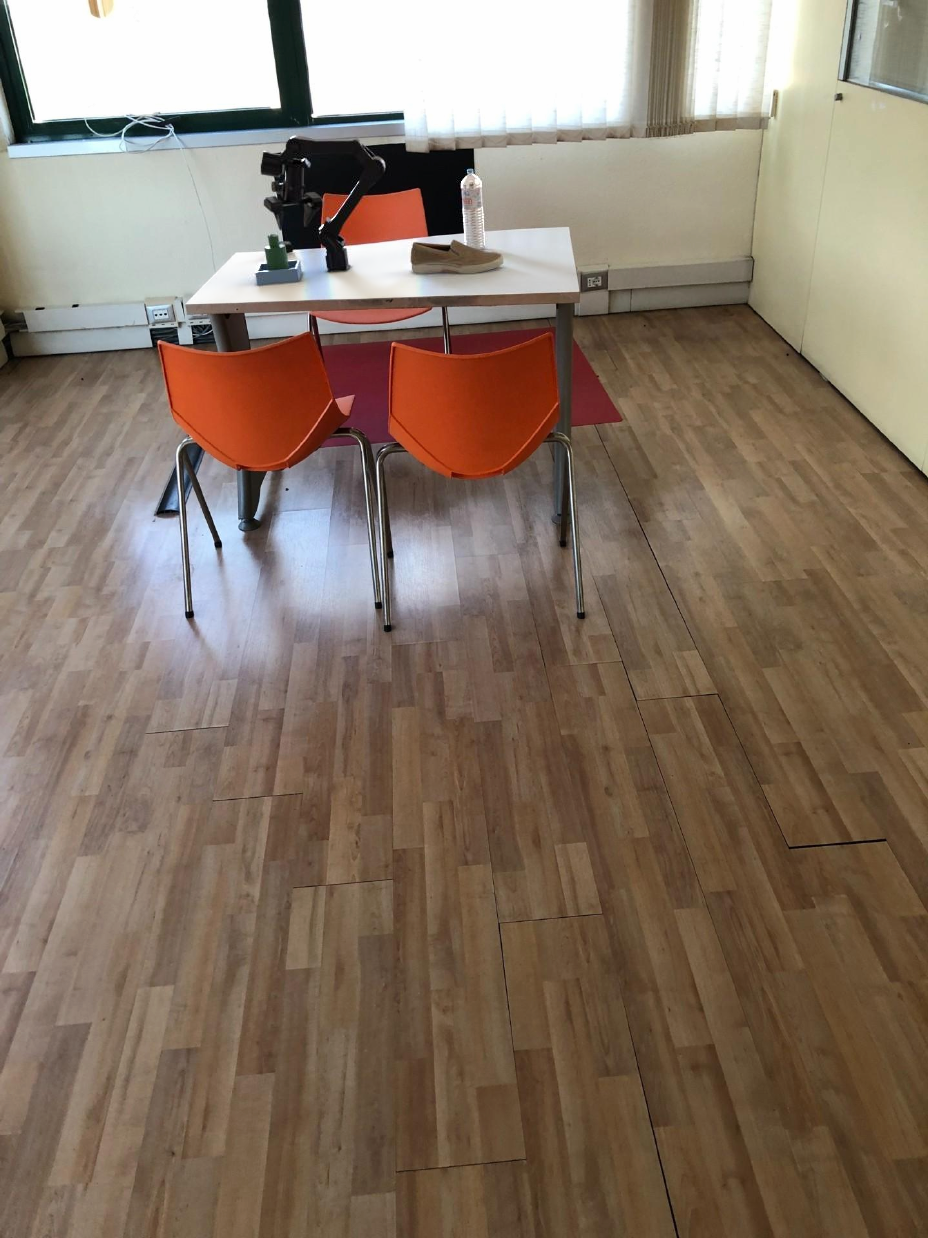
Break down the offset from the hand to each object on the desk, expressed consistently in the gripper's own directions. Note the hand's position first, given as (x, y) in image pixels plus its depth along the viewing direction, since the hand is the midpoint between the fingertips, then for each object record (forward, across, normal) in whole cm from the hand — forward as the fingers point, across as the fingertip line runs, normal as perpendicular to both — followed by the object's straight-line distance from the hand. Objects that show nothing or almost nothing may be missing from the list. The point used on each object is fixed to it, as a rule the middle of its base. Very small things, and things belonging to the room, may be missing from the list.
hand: (292, 228), depth 314 cm
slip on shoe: (-2, -34, +46) cm, 57 cm away
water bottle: (+2, -55, +28) cm, 62 cm away
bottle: (+11, +9, +9) cm, 17 cm away
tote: (+12, +9, +9) cm, 18 cm away
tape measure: (+20, -9, -22) cm, 31 cm away
